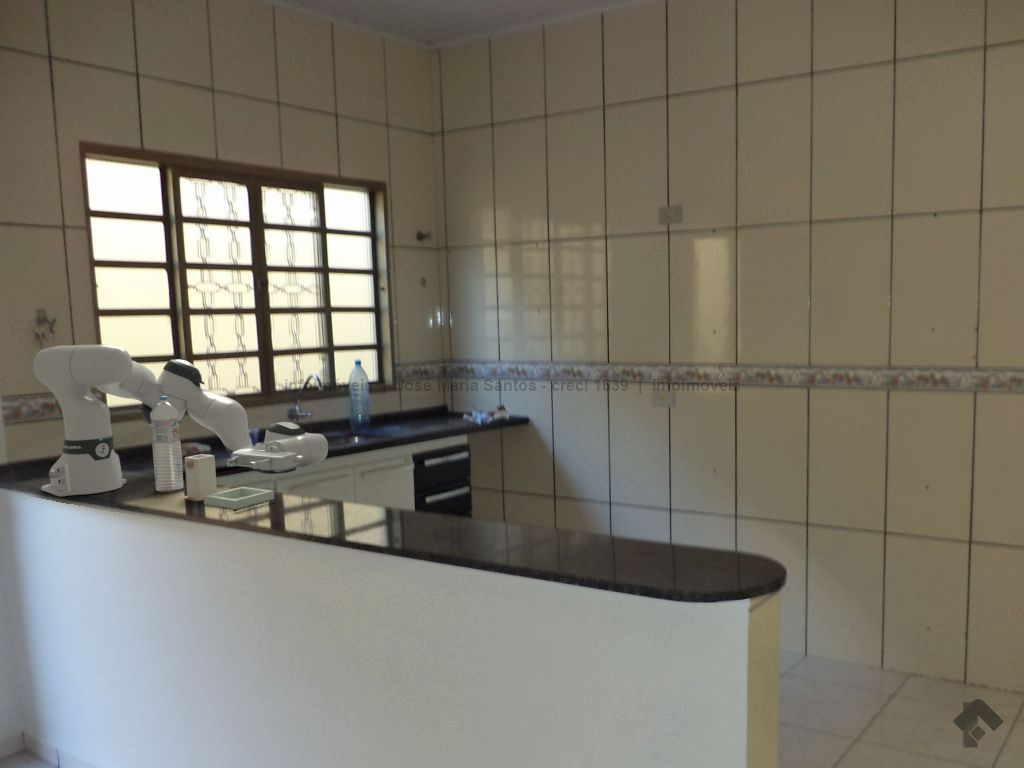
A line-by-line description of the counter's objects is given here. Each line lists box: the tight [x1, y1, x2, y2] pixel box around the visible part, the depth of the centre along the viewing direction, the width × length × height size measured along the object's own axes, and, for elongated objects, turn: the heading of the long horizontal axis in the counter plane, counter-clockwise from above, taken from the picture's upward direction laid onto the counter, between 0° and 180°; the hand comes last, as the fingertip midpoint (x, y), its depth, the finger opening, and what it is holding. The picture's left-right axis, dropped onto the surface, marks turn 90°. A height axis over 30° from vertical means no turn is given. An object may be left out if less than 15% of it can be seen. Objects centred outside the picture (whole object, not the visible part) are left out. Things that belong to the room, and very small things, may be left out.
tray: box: [203, 486, 275, 512], centre depth 202 cm, size 11×11×2 cm
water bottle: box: [150, 396, 185, 493], centre depth 219 cm, size 7×7×25 cm
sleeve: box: [184, 453, 218, 499], centre depth 209 cm, size 5×6×10 cm
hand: (240, 464), depth 219 cm, fingers open, 8 cm apart
